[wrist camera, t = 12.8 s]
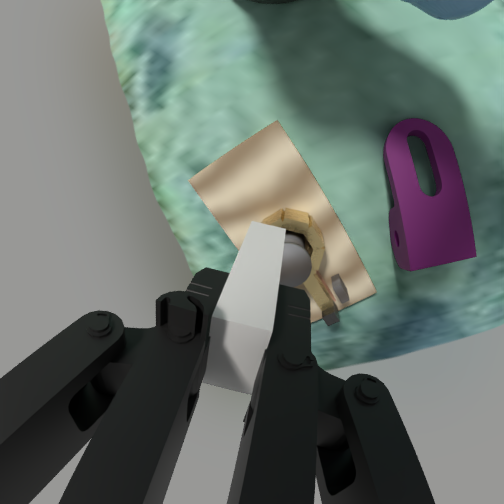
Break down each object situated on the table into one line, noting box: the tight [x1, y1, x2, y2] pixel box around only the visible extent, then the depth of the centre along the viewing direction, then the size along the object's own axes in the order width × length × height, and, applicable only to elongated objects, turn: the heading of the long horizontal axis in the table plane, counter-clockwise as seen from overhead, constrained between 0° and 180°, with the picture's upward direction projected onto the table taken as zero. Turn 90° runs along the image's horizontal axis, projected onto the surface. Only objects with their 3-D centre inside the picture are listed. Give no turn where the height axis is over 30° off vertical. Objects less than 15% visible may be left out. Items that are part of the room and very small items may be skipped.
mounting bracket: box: [383, 118, 477, 271], centre depth 34 cm, size 9×8×18 cm
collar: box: [261, 208, 340, 326], centre depth 39 cm, size 16×8×5 cm, turn 35°
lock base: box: [188, 120, 377, 323], centre depth 37 cm, size 28×14×9 cm, turn 34°
